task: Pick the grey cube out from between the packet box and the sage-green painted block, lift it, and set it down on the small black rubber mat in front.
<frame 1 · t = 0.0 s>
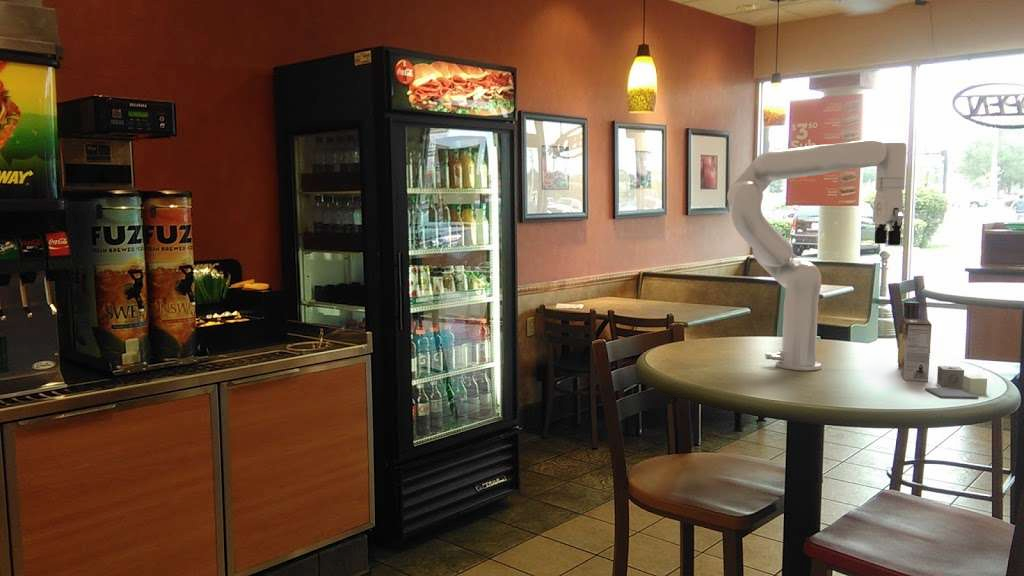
hand: (887, 244, 233), 37 cm above the table, tool pointing down, fingers open, 9 cm apart
grey cube: (949, 387, 213), on the table
coffee box: (914, 378, 223), on the table
sauce bottle: (908, 369, 236), on the table
sage block: (974, 392, 206), on the table
black mat: (950, 394, 203), on the table
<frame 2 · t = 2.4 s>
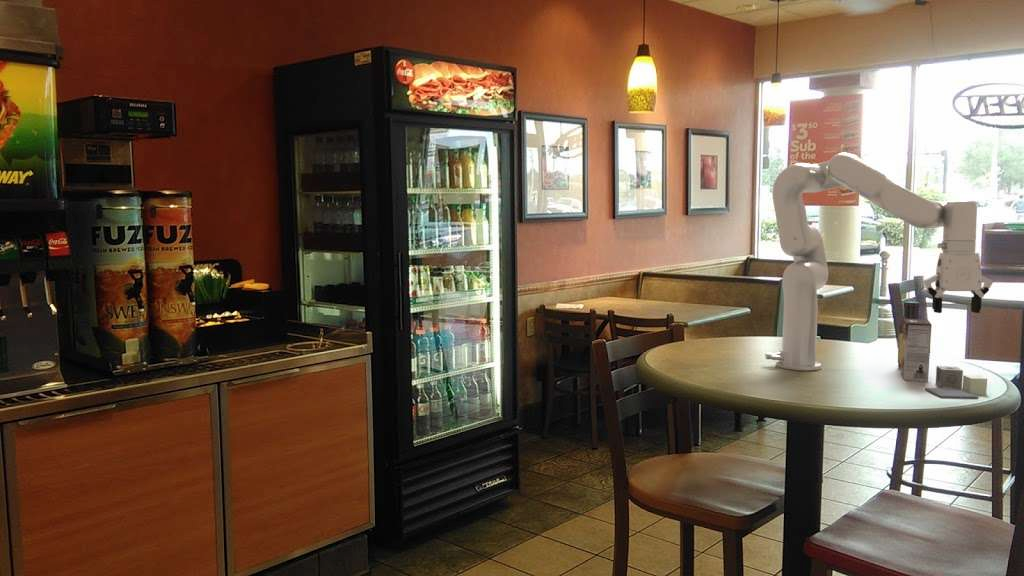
hand: (956, 312, 211), 20 cm above the table, tool pointing down, fingers open, 9 cm apart
nothing on the table moved.
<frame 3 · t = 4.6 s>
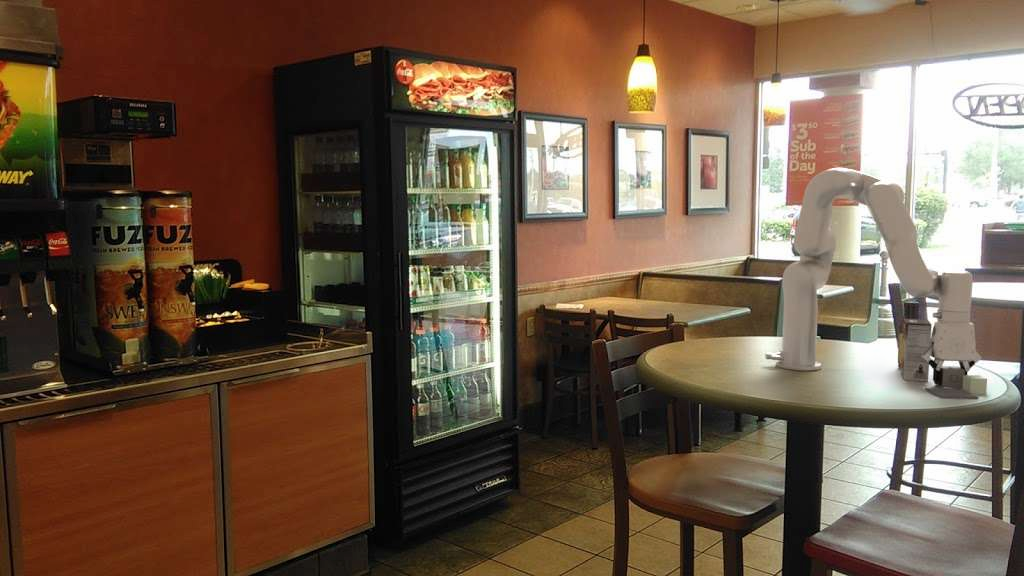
hand: (949, 384, 213), 1 cm above the table, tool pointing down, fingers closed on grey cube, 5 cm apart
grey cube: (950, 387, 213), on the table, touching gripper
everything else where it was.
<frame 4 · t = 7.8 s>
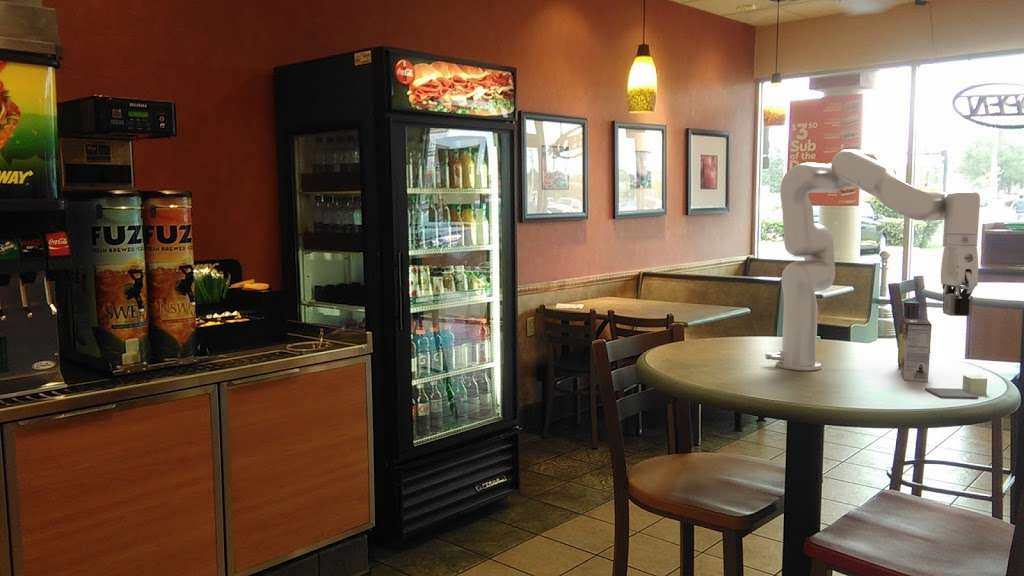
hand: (955, 312, 201), 21 cm above the table, tool pointing down, fingers closed on grey cube, 5 cm apart
grey cube: (957, 315, 201), point 20 cm above the table, touching gripper
everything else where it was.
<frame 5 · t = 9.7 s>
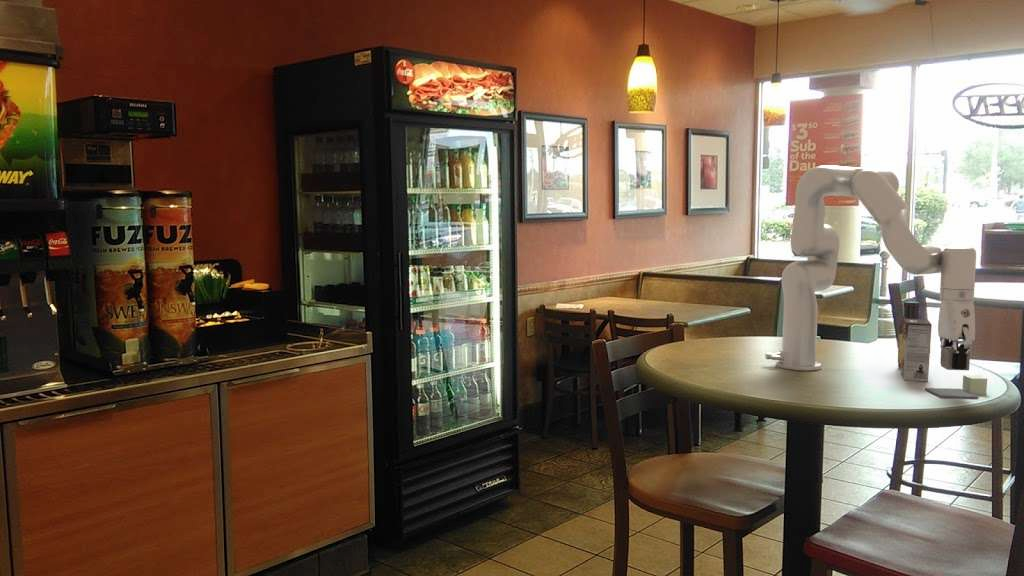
hand: (953, 366, 202), 7 cm above the table, tool pointing down, fingers closed on grey cube, 5 cm apart
grey cube: (954, 368, 202), point 7 cm above the table, touching gripper
everything else where it was.
when the fingers open (2 cm above the table, at t = 11.0 s): grey cube drops 1 cm, resting on black mat.
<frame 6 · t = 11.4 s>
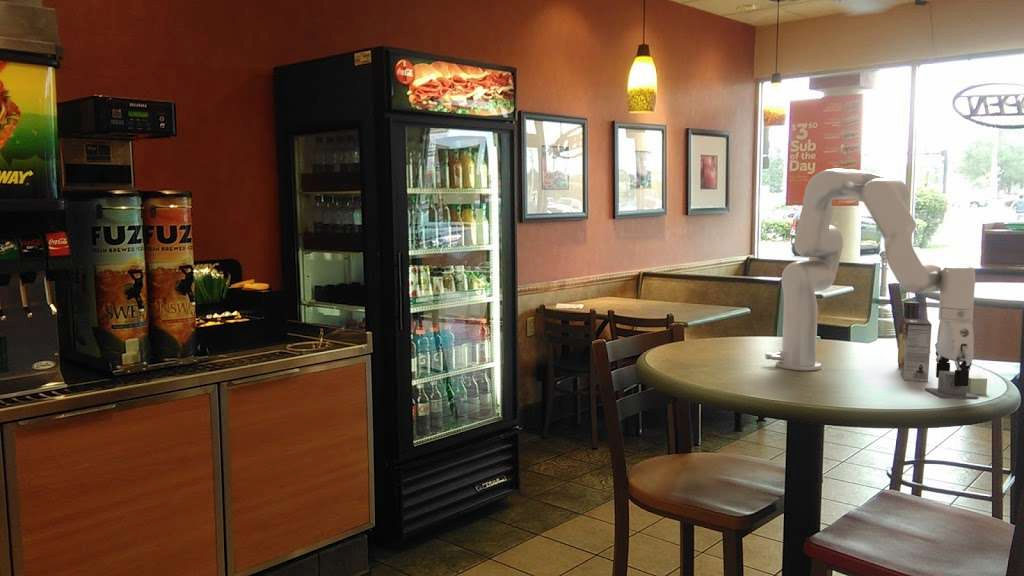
hand: (951, 381, 203), 3 cm above the table, tool pointing down, fingers open, 9 cm apart
grey cube: (951, 392, 203), resting on black mat
everything else where it was.
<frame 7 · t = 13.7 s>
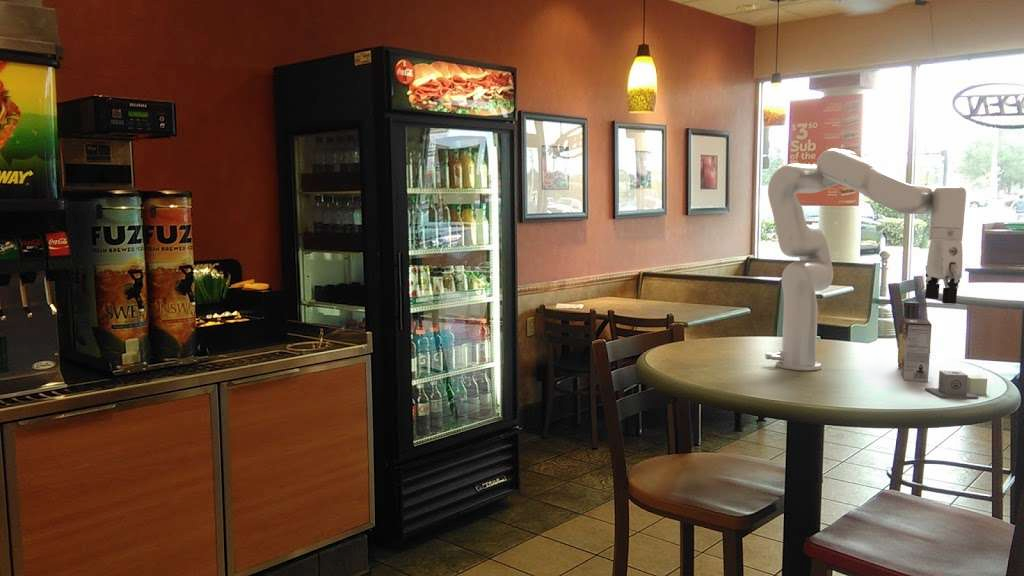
hand: (940, 301, 206), 23 cm above the table, tool pointing down, fingers open, 9 cm apart
nothing on the table moved.
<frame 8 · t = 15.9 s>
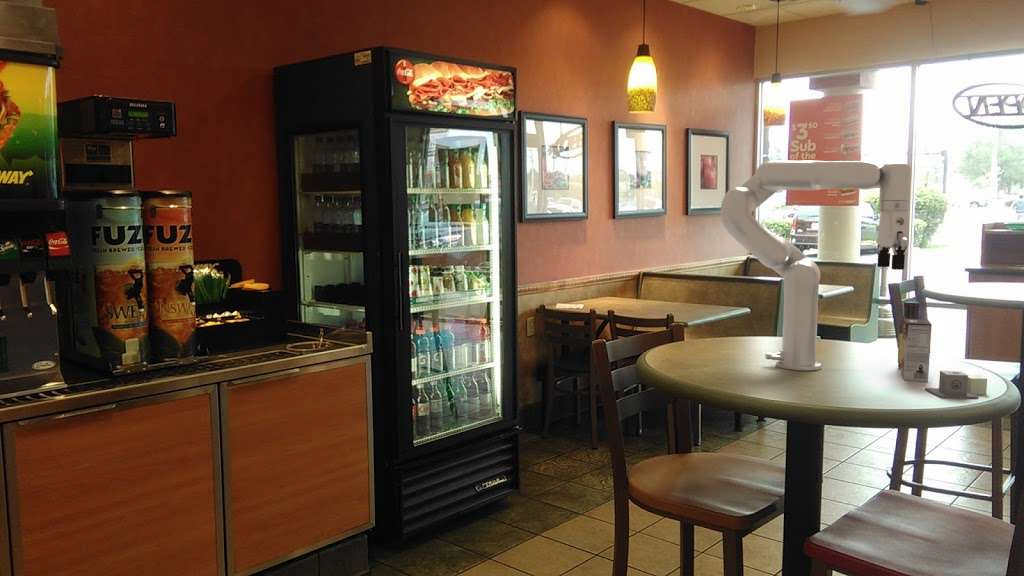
hand: (890, 268, 226), 30 cm above the table, tool pointing down, fingers open, 9 cm apart
nothing on the table moved.
at the end: grey cube 0.4 cm off-centre on the black mat, point 0.3 cm above the black mat's base; the gripper is holding nothing; sage block moved 0.1 cm from its start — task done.
